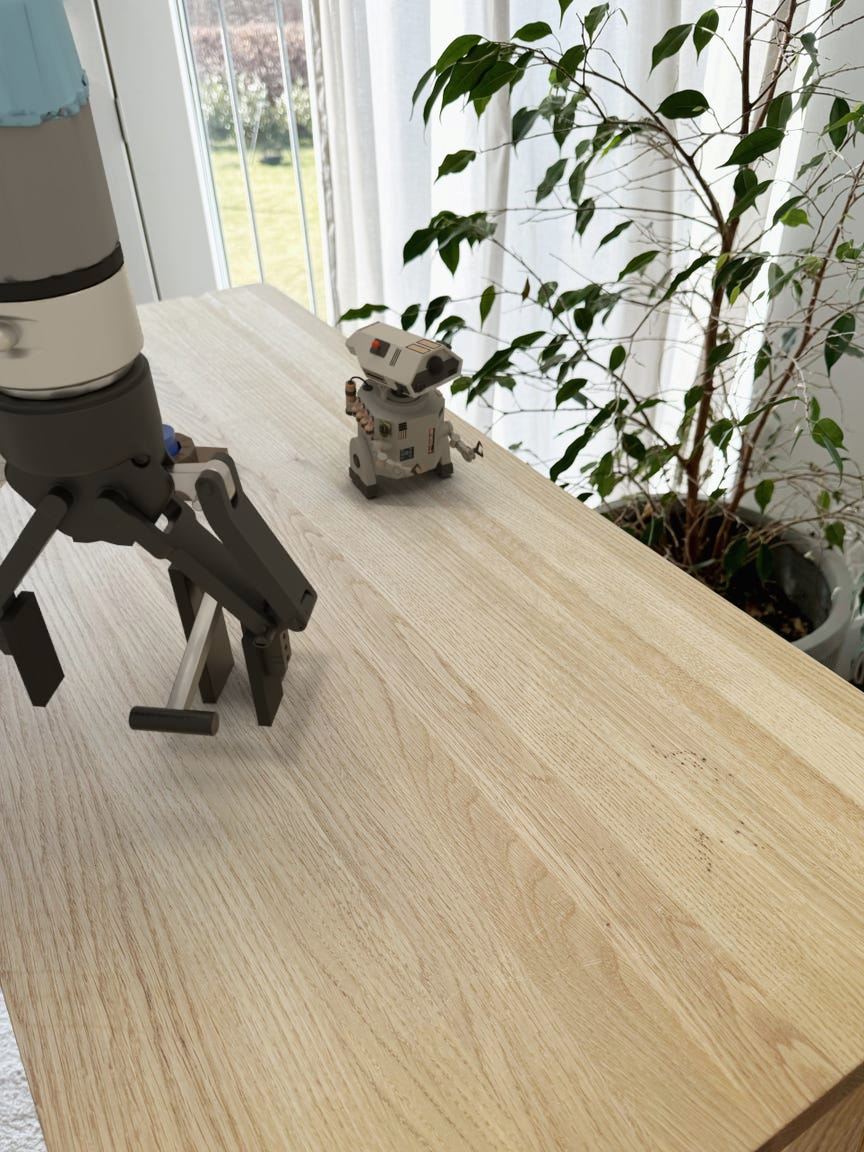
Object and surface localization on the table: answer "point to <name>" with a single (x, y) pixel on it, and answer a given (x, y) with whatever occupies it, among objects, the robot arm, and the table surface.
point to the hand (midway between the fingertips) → (159, 700)
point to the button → (170, 439)
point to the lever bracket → (220, 647)
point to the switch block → (192, 455)
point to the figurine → (400, 406)
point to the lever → (185, 684)
